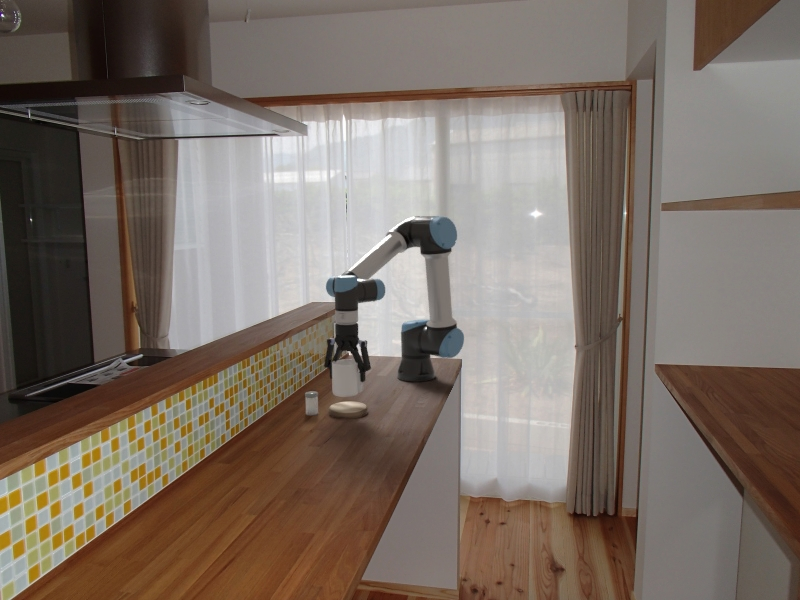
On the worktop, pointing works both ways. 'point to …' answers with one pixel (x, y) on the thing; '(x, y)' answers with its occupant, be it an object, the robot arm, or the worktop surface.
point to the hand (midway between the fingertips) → (347, 389)
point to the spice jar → (311, 403)
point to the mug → (345, 378)
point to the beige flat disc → (348, 410)
